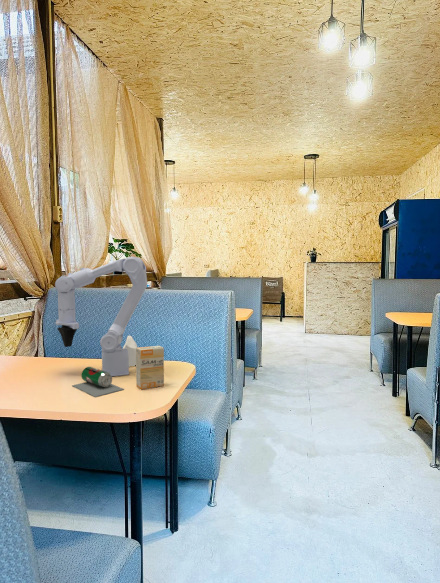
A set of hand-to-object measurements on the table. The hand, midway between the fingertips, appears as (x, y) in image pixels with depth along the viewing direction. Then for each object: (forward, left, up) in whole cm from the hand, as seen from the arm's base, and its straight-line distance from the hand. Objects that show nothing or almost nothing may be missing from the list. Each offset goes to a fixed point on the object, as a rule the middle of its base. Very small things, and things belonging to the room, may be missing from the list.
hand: (67, 346), depth 145 cm
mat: (-9, +20, -10) cm, 24 cm away
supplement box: (-25, +25, -11) cm, 37 cm away
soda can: (-6, +12, -8) cm, 15 cm away
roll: (-23, -5, -11) cm, 26 cm away
